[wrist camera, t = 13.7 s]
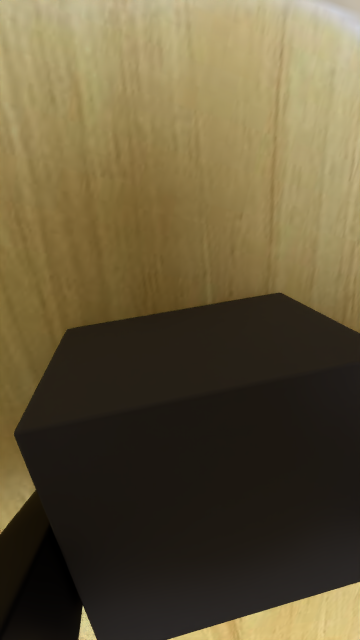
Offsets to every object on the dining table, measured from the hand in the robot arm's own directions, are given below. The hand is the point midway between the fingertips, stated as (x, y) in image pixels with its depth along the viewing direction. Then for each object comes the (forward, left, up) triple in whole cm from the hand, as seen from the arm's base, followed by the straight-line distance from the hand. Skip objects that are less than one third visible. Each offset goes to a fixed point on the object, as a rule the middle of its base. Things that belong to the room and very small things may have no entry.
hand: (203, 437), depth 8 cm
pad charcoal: (0, 0, -2) cm, 2 cm away
